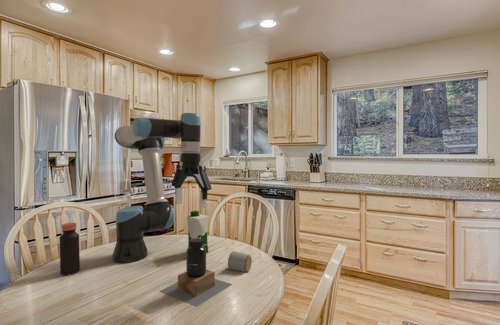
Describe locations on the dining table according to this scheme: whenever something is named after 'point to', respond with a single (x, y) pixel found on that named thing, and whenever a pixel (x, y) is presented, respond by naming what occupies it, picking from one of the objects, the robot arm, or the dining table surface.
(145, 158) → the robot arm
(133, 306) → the dining table surface
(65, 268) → the vinegar
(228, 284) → the mat
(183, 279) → the walnut block
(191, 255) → the supplement bottle
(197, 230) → the milk carton
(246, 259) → the ceramic mug
